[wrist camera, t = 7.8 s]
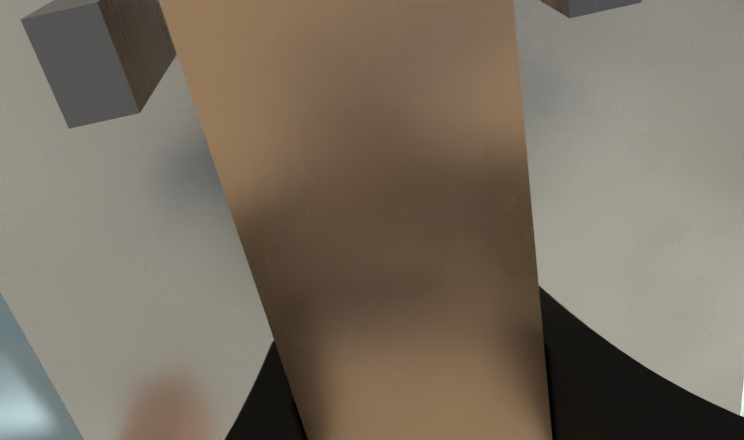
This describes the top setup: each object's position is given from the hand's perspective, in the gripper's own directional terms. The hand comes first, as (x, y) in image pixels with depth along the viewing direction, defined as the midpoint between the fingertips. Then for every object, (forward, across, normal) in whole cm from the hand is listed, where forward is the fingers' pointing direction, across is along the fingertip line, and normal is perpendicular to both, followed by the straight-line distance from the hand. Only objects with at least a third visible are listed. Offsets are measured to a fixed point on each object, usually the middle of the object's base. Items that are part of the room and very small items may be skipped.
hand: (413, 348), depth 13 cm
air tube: (+2, 0, 0) cm, 2 cm away
